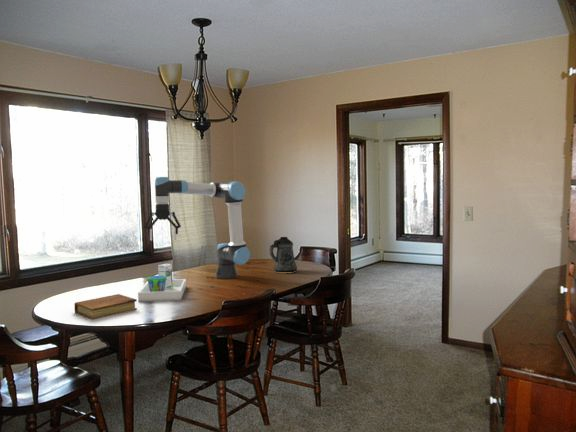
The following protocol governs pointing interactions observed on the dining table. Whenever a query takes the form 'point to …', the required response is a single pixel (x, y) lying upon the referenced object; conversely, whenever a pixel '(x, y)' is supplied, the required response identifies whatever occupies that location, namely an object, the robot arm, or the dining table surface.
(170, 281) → the syrup box
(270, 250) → the beer stein
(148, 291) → the tote
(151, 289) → the snack cup
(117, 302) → the diary
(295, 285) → the dining table surface
